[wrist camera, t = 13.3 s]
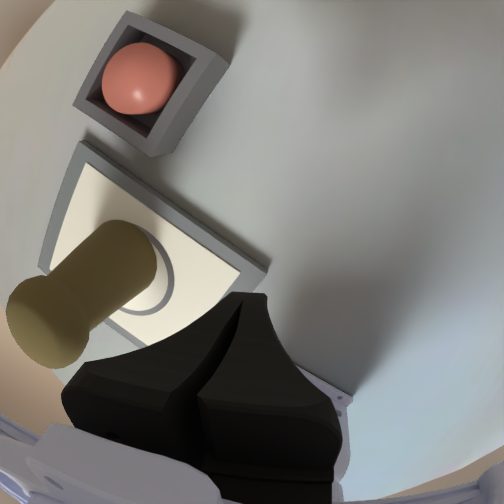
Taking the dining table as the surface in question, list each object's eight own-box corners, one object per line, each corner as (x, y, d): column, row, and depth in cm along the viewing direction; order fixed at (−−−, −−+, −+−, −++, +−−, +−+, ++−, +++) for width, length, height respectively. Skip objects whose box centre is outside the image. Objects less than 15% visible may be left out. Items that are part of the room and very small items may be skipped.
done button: (196, 68, 17) (182, 60, 14) (159, 126, 18) (141, 127, 16) (145, 41, 16) (126, 32, 14) (111, 96, 18) (90, 95, 16)
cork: (91, 281, 24) (5, 358, 14) (90, 212, 22) (-18, 272, 12) (154, 302, 24) (81, 401, 14) (160, 229, 21) (62, 312, 11)
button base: (230, 65, 18) (216, 53, 14) (172, 152, 20) (150, 157, 17) (150, 24, 17) (126, 10, 14) (101, 105, 20) (72, 105, 16)
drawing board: (267, 269, 22) (266, 275, 22) (184, 369, 27) (180, 376, 26) (84, 140, 21) (77, 141, 20) (42, 262, 26) (36, 267, 25)
